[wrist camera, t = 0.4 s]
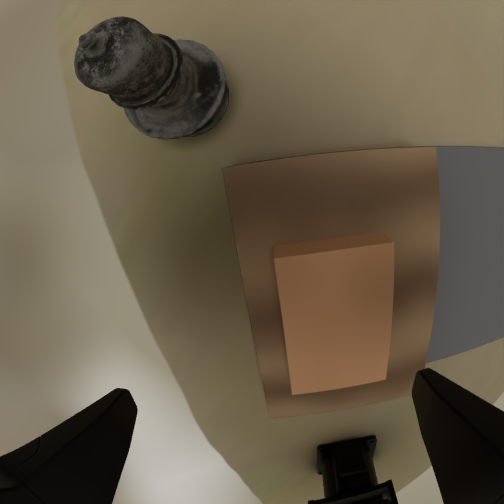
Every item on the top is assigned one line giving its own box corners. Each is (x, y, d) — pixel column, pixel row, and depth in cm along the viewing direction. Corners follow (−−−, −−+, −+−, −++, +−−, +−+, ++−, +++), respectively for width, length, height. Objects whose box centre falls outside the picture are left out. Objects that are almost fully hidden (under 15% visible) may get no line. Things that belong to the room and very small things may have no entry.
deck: (405, 366, 22) (418, 392, 19) (270, 388, 24) (269, 418, 20) (410, 146, 17) (436, 146, 14) (231, 166, 18) (222, 168, 15)
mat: (502, 335, 21) (503, 336, 21) (405, 366, 22) (406, 368, 22) (521, 149, 16) (523, 149, 15) (410, 146, 17) (412, 147, 17)
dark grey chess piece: (131, 98, 17) (-1, 63, 6) (197, 41, 16) (117, -60, 4) (180, 159, 18) (60, 175, 7) (252, 102, 17) (220, 23, 6)
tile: (377, 360, 18) (385, 379, 16) (291, 374, 19) (292, 394, 17) (380, 231, 15) (394, 241, 14) (273, 246, 16) (273, 258, 14)
